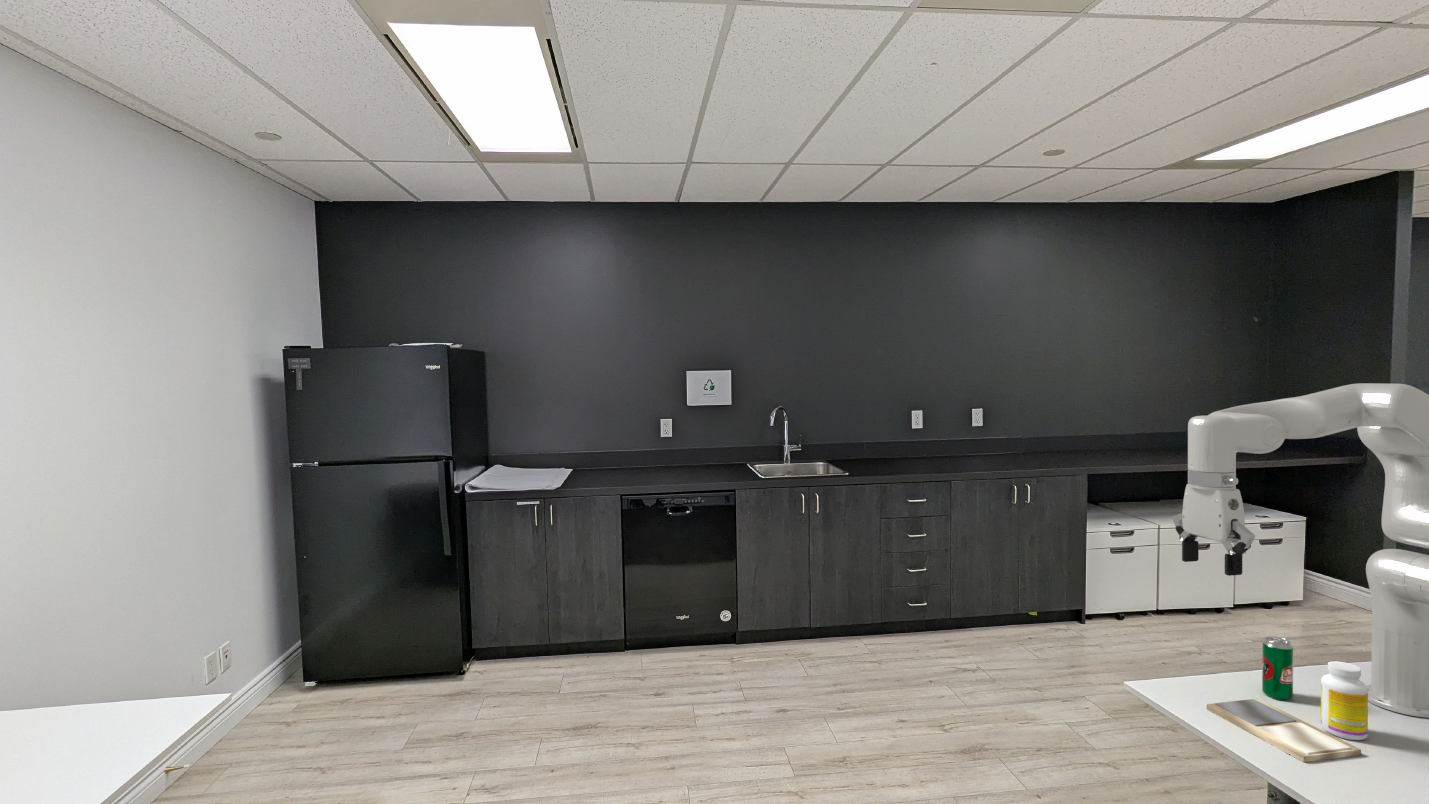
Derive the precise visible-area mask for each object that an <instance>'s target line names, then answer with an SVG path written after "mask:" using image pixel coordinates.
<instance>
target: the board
mask: <svg viewBox="0 0 1429 804" xmlns="http://www.w3.org/2000/svg"><path fill="white" fill-rule="evenodd" d="M1206 710H1208V711H1209V712H1212V713H1213V714H1215V715H1217V716H1219V717H1221V718H1222V719H1224V720H1226V721H1228V722H1229V723H1232V724H1233V725H1235V726H1237V727H1239V728H1240V729H1242V730H1244V731H1246V732H1247V733H1250V734H1252V735H1253V736H1255V737H1257V738H1259V739H1260V740H1263V741H1264V742H1266V743H1268V744H1270V745H1271V746H1273V747H1275V748H1276V749H1278V750H1281V751H1283V752H1284V753H1286V754H1288V755H1289V754H1290V755H1289V756H1292V757H1293V758H1295V759H1297V760H1299V761H1301V762H1302V763H1307V762H1308V763H1309V762H1319V761H1325V760H1333V759H1334V760H1335V759H1342V758H1348V757H1349V758H1350V757H1355V756H1361V755H1362V749H1361V748H1359V747H1357V746H1355V745H1353V744H1351V743H1348V742H1347V741H1344V740H1342V738H1341V739H1340V737H1337V736H1335V735H1332V734H1330V733H1328V732H1327V731H1325V730H1322V729H1320V728H1318V727H1316V726H1314V725H1312V724H1310V723H1308V722H1306V721H1304V720H1302V719H1299V718H1298V717H1296V716H1294V715H1292V714H1290V713H1289V712H1286V711H1283V710H1282V709H1279V708H1277V707H1276V706H1273V705H1272V704H1270V703H1267V702H1265V701H1263V700H1261V699H1259V698H1251V699H1250V698H1249V699H1240V700H1233V701H1223V702H1222V701H1221V702H1215V703H1214V702H1213V703H1206Z"/></svg>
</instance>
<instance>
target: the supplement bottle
mask: <svg viewBox="0 0 1429 804" xmlns="http://www.w3.org/2000/svg"><path fill="white" fill-rule="evenodd" d="M1327 671H1328V672H1329V673H1327V674H1324V675H1322V676H1321V679H1320V726H1321V728H1322V729H1323V731H1324V732H1326V733H1328V734H1330V735H1332V736H1334V737H1336V738H1341V739H1345V740H1351V741H1363V740H1365V739H1367V738H1368V734H1369V733H1368V732H1369V729H1368V728H1369V725H1368V724H1369V722H1368V721H1369V718H1368V717H1369V716H1368V715H1369V709H1368V708H1369V701H1368V688H1367V684H1365V683H1364V682H1363V681H1362V680H1361V676H1362V669H1361V668H1360V667H1359V666H1357V665H1354V664H1352V663H1348V662H1343V661H1337V660H1335V661H1328V662H1327Z"/></svg>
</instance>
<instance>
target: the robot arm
mask: <svg viewBox="0 0 1429 804" xmlns="http://www.w3.org/2000/svg"><path fill="white" fill-rule="evenodd" d="M1356 428H1357V429H1356ZM1352 429H1356V430H1357V434H1358V437H1359V439H1360V440H1361V442H1362V443H1363V444H1364V446H1365V447H1367V448H1368V449H1369V450H1370V451H1371V452H1372V453H1373V454H1374V455H1375V456H1376V458H1377V459H1378V460H1379V462H1380V463H1381V466H1382V467H1383V470H1384V474H1385V475H1384V476H1385V478H1384V492H1383V500H1382V501H1383V503H1382V508H1381V509H1382V511H1381V529H1382V532H1383V534H1384V535H1385V536H1386V538H1387V537H1388V538H1389V539H1390V540H1393V541H1395V542H1398V543H1402V544H1405V545H1409V546H1415V547H1418V548H1419V547H1420V548H1423V549H1427V550H1429V394H1428V393H1426V392H1424V391H1423V390H1421V389H1419V388H1417V387H1414V386H1413V385H1409V384H1405V383H1404V384H1403V383H1379V382H1378V383H1375V382H1374V383H1372V382H1370V383H1369V382H1368V383H1361V382H1359V383H1351V384H1346V385H1345V384H1344V385H1342V386H1341V385H1340V386H1337V387H1333V388H1329V389H1325V390H1321V391H1317V392H1314V393H1313V392H1312V393H1309V394H1305V395H1301V396H1300V395H1299V396H1295V397H1294V396H1293V397H1287V398H1280V399H1274V400H1270V401H1261V402H1254V403H1248V404H1242V405H1238V406H1237V405H1236V406H1232V407H1229V408H1224V409H1220V410H1216V411H1213V412H1211V413H1209V414H1208V415H1196V416H1193V417H1191V418H1190V419H1189V420H1188V423H1187V484H1186V486H1185V489H1184V494H1183V495H1184V496H1183V501H1182V510H1181V511H1182V512H1180V513H1178V514H1175V515H1173V516H1172V521H1173V523H1174V526H1175V531H1176V533H1177V534H1178V539H1179V540H1180V542H1181V560H1182V561H1183V562H1184V563H1186V562H1187V563H1188V562H1191V563H1192V562H1198V561H1199V540H1196V539H1197V538H1198V537H1200V538H1203V539H1206V540H1211V541H1214V542H1217V543H1221V544H1222V546H1223V547H1224V548H1225V550H1226V552H1227V553H1225V554H1224V574H1225V575H1226V576H1229V577H1230V576H1231V577H1232V576H1240V575H1243V555H1246V554H1247V551H1248V550H1250V549H1251V547H1252V544H1253V542H1254V541H1255V538H1256V535H1255V534H1254V532H1252V531H1251V530H1250V529H1248V528H1247V527H1246V520H1245V519H1246V518H1245V511H1244V509H1245V508H1244V504H1243V498H1242V495H1241V491H1240V489H1238V488H1237V487H1236V485H1238V484H1239V479H1238V478H1237V471H1236V470H1237V469H1236V467H1237V466H1236V465H1237V463H1236V462H1237V457H1236V456H1237V453H1247V454H1258V455H1259V454H1261V455H1262V454H1268V453H1271V452H1273V451H1275V450H1277V449H1279V448H1280V447H1281V446H1282V445H1283V443H1284V441H1285V440H1286V439H1287V440H1304V439H1307V440H1308V439H1316V438H1322V437H1325V436H1329V435H1334V434H1336V433H1340V432H1344V431H1348V430H1352ZM1365 574H1366V579H1367V583H1368V588H1369V591H1370V592H1369V593H1370V597H1371V611H1372V613H1371V616H1372V617H1371V618H1372V619H1371V621H1372V622H1371V673H1370V674H1371V677H1370V678H1371V679H1370V680H1371V682H1370V683H1371V684H1368V685H1367V684H1366V686H1367V688H1368V703H1371V704H1373V705H1375V706H1377V707H1379V708H1382V709H1385V710H1388V711H1391V712H1395V713H1398V714H1402V715H1407V716H1411V717H1419V718H1426V719H1427V718H1428V719H1429V554H1424V553H1420V552H1416V551H1411V550H1410V551H1409V550H1406V549H1399V548H1385V549H1379V550H1377V551H1374V553H1372V554H1371V555H1370V556H1369V558H1368V559H1367V562H1366V565H1365Z"/></svg>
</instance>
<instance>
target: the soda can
mask: <svg viewBox="0 0 1429 804" xmlns="http://www.w3.org/2000/svg"><path fill="white" fill-rule="evenodd" d="M1261 656H1262V659H1261V660H1262V663H1261V665H1262V666H1261V667H1262V670H1261V671H1262V673H1261V674H1262V676H1261V677H1262V679H1261V680H1262V681H1261V683H1262V684H1261V687H1262V689H1261V690H1262V692H1263V694H1265V696H1267V697H1269V698H1271V697H1272V698H1271V699H1274V698H1275V700H1278V699H1279V701H1290V700H1291V699H1292V698H1293V696H1294V646H1293V645H1292V642H1291V641H1290V640H1288V639H1286V638H1282V637H1279V636H1266V637H1264V640H1263V641H1262V655H1261ZM1289 699H1290V700H1289Z"/></svg>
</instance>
